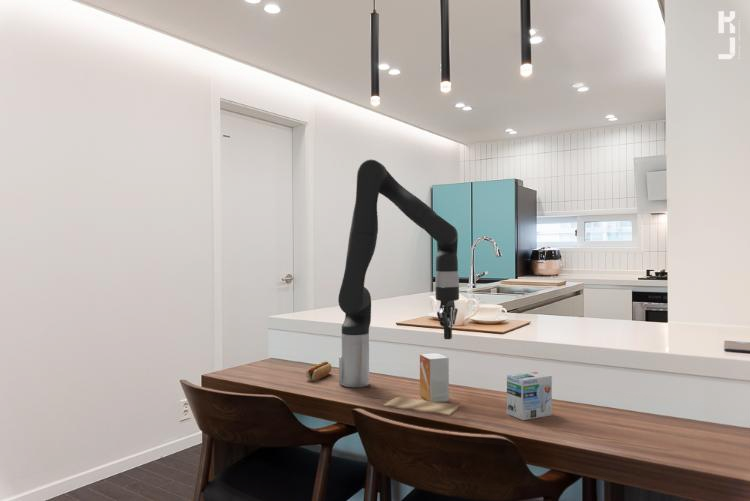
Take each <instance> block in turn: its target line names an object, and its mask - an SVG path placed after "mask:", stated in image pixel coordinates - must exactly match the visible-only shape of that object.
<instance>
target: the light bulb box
mask: <svg viewBox="0 0 750 501" xmlns="http://www.w3.org/2000/svg"><path fill="white" fill-rule="evenodd" d="M552 381H553V376H552V375H548V374H545V373H542V372H538V371H528V372H522V373H521V372H520V373H514V374H507V375H506V414H507V415H508V416H511V417H513V418H514V417H515V418H516V419H519V420H521V421H526V420H531V419H537V418H545V417H550V416H552V412H553V411H552V404H553V403H552V400H553V399H552V398H553V397H552V396H553V395H552V394H553V393H552V392H553V390H552V387H553V383H552Z"/></svg>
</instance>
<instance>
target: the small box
mask: <svg viewBox="0 0 750 501" xmlns="http://www.w3.org/2000/svg"><path fill="white" fill-rule="evenodd" d="M449 366H450V364H449V357H447V356H445V355H443V354H440V353H438V352H437V353H436V352H434V353H422V354H421V353H420V354H419V397H421V398H423V399H424V400H425V401H432V402H439V403H445V402H449V401H450V392H449V391H450V382H449V381H450V374H449V371H450V369H449Z"/></svg>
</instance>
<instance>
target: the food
mask: <svg viewBox="0 0 750 501" xmlns="http://www.w3.org/2000/svg"><path fill="white" fill-rule="evenodd" d="M331 372H332V364H331V363H330V362H328V361H326V360H325V361H322V362H320V363H318V364H316V365H313V367H309V368H308V369H307V370H306V373H305V375H306V377H307V379H308V380H309V381H310V382H316V381H318V380H320V379H323V378H325V377H326V376H329V374H331Z"/></svg>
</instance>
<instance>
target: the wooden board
mask: <svg viewBox="0 0 750 501" xmlns="http://www.w3.org/2000/svg"><path fill="white" fill-rule="evenodd" d="M383 407H388V408H389V407H390V408H395V409H402V410H408V411H409V410H410V411H415V412H422V413H429V414H436V415H442V416H452V414H453V413H455V412H456V411H457V410H459V409H460V408H461V405H460V404H453V403H445V402H432V401H427V400H425V399H424V400H422V399H416V398H408V397H402V396H396V397H395V398H392V399H390V400H389V401H387V402H385V403H384V404H383Z"/></svg>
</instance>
